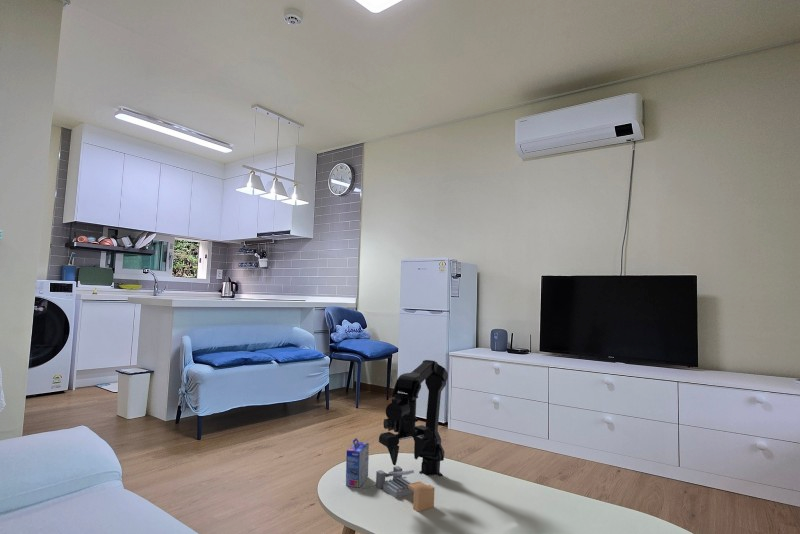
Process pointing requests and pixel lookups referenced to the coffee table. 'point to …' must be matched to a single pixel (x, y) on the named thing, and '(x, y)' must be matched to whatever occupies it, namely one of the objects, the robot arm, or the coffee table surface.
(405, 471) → the strap
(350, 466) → the ink cartridge box
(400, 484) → the board
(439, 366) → the robot arm
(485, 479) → the coffee table surface
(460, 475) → the coffee table surface
